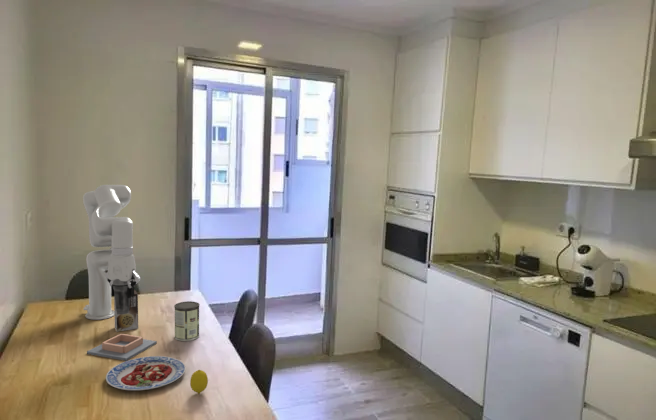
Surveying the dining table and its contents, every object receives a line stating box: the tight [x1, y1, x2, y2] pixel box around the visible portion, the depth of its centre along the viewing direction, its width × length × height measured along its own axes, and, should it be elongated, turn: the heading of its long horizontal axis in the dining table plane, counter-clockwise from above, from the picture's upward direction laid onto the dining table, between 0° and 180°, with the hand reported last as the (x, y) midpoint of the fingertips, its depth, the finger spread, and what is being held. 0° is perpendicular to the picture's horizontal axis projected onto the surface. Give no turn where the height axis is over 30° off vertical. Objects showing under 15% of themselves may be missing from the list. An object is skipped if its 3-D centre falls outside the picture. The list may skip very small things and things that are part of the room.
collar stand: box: [86, 333, 157, 362], centre depth 184 cm, size 18×18×4 cm
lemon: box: [189, 369, 209, 394], centre depth 151 cm, size 6×6×8 cm
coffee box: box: [113, 289, 139, 333], centre depth 206 cm, size 9×6×16 cm
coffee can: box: [173, 300, 200, 342], centre depth 199 cm, size 10×10×14 cm
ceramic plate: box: [105, 355, 186, 391], centre depth 162 cm, size 26×26×3 cm
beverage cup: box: [113, 279, 132, 314], centre depth 182 cm, size 7×7×20 cm
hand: (122, 295), depth 182 cm, fingers closed on beverage cup, 6 cm apart
